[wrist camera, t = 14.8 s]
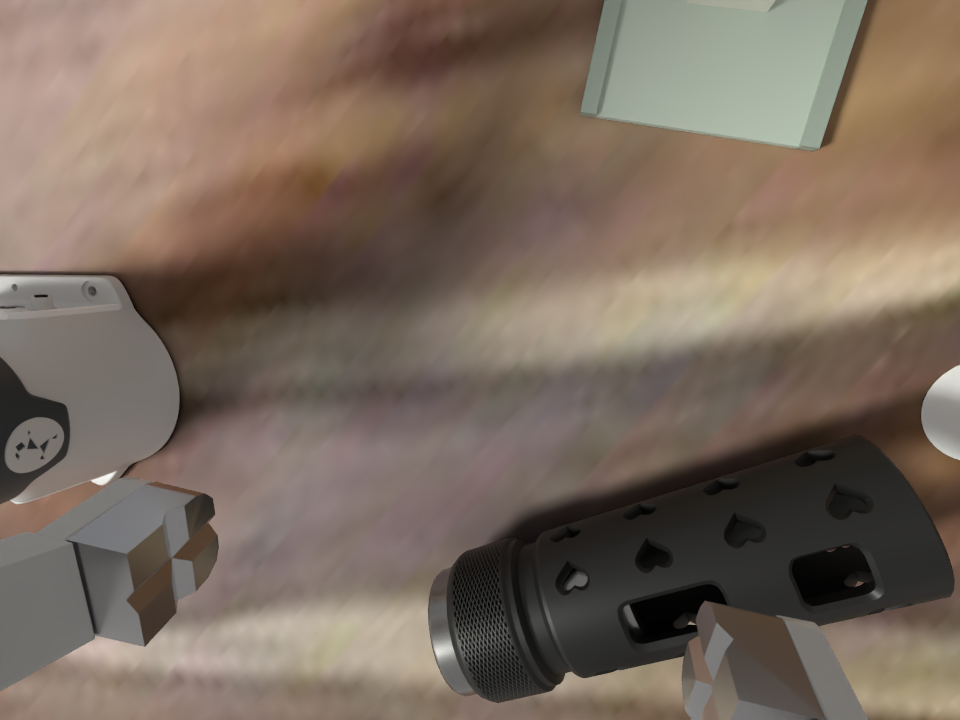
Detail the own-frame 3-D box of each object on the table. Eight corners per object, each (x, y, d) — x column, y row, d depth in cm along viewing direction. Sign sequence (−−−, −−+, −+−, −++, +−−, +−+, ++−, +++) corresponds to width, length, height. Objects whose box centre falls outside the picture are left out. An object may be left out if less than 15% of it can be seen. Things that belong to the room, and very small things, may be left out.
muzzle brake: (874, 534, 35) (986, 645, 25) (498, 632, 42) (469, 747, 32) (824, 406, 34) (919, 468, 24) (449, 529, 41) (404, 615, 32)
